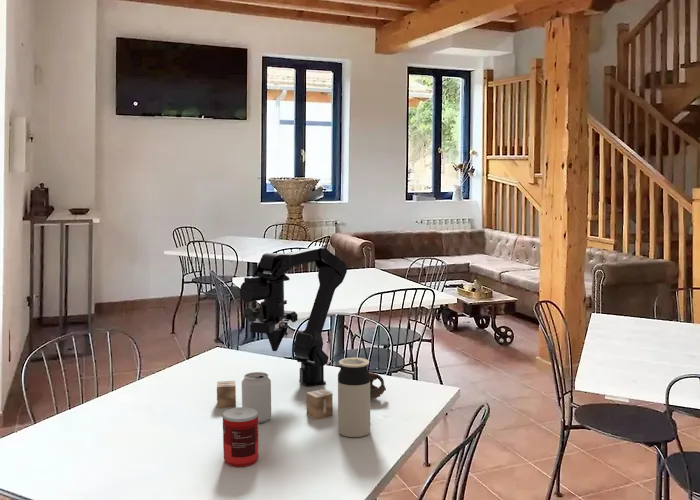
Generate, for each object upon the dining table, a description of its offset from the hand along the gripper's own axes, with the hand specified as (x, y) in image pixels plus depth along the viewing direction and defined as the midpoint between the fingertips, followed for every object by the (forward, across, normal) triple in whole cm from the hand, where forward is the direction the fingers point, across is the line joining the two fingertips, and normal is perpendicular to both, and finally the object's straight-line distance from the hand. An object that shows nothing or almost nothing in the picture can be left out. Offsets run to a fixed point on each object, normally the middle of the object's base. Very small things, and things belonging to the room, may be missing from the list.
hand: (274, 350), depth 197 cm
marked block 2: (+13, +11, +19) cm, 25 cm away
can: (+13, +20, +5) cm, 24 cm away
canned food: (+13, +43, +14) cm, 47 cm away
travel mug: (+13, +19, +32) cm, 39 cm away
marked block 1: (+13, +12, -9) cm, 20 cm away
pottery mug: (+13, -7, +25) cm, 29 cm away
